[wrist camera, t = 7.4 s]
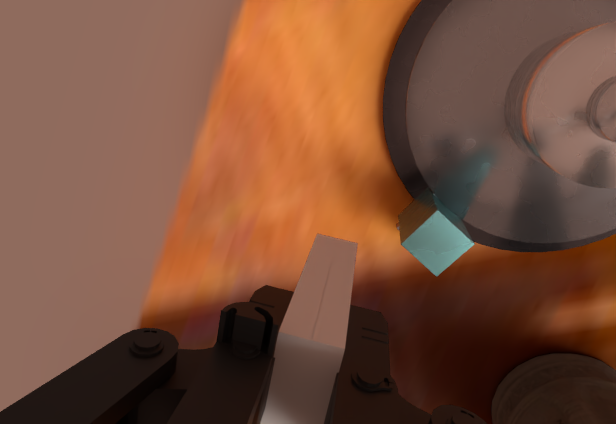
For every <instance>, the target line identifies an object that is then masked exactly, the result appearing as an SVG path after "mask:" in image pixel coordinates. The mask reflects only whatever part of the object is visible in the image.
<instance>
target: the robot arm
mask: <svg viewBox="0 0 616 424" xmlns="http://www.w3.org/2000/svg"><path fill="white" fill-rule="evenodd" d="M357 244H358V243H355V242H350V241H346V240H342V239H338V238H333V237H329V236H325V235H321V234H317V235H316V238H315V241H314V243H313V246H312V248H311V251H310V253H309V256H308V258H307V261H306V263H305V266H304V269H303V271H302V274H301V276H300V279H299V281H298V284H297V286H296V289H295V291H294V292H292V291H288V290H284V289H280V288H276V287H272V286H268V285H265V286H264V287H262V288H260V289H258V290H256V291H255V292H254V294H253V295H252V297H251V299H250V301H249V302H239V303H234V304H231V305H228V306H226V307H225V308H224V309H223V310H221V315H220V322H219V329H218V336H217V342H216V344H215V345H214V347H212V348H208V349H201V350H188V349H178V344H179V343H178V342H177V340H176V338H175V337H174V336H173V335H172V334H170V333H169V332H167V331H163V330H160V329H155V328H143V329H137V330H132V331H130V332H128V333H126V334H123V335H122V336H120V337H118V338H117V339H115V340H114V341H112V342H111V343H109V344H107V345H106V346H104V347H103V348H101V349H100V350H98V351H96V352H95V353H93V354H91V355H90V356H88V357H87V358H85V359H84V360H82V361H80V362H79V363H77V364H76V365H74V366H72V367H71V368H69V369H68V370H66V371H64V372H63V373H61V374H60V375H58V376H57V377H55V378H53V379H52V380H50V381H49V382H47V383H45V384H44V385H42V386H41V387H39V388H37V389H36V390H34V391H33V392H31V393H30V394H28V395H26V396H25V397H24V398H22V399H20V400H18V401H17V402H15V403H14V404H12V405H10V406H9V407H7V408H6V409H4V410H3V411H1V412H0V424H487V423H486V422H485V421H484V420H483V419H481V418H480V417H479V416H477V415H476V414H475V413H473V412H471V411H469V410H467V409H465V408H462V407H458V406H454V405H441V406H439V407H437V408H436V409H434V410H433V413H432V415H430V414H428V413H427V412H425V411H423V410H421V409H419V408H417V407H415V406H413V405H412V404H410V403H408V402H407V401H406V400H405V399H403V398H402V397H401V396H400V395H399V394H398V389H397V386H396V383H395V381H394V379H393V378H392V377H391V376H390V361H389V345H388V343H389V339H388V323H387V321H386V320H385V318H384V317H383V315H382V314H381V312H377V311H373V310H369V309H365V308H361V307H357V306H353V305H350V302H351V294H352V286H353V277H354V269H355V261H356V252H357ZM260 422H261V423H260Z"/></svg>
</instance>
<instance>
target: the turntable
mask: <svg viewBox="0 0 616 424" xmlns="http://www.w3.org/2000/svg"><path fill="white" fill-rule="evenodd" d="M615 21H616V0H452V1H451V2H450V3H449V4H448V6H447V7H446V8H445V9H444V11H443V12H442V13H441V14H440V16H439V17H438V18H437V19H436V21H435V22H434V23H433V25H432V27H431V28H430V30H429V31H428V33H427V35H426V36H425V38H424V40H423V42H422V44H421V46H420V48H419V50H418V52H417V55H416V57H415V60H414V63H413V66H412V69H411V72H410V75H409V80H408V86H407V91H406V102H405V119H406V130H407V135H408V139H409V144H410V147H411V150H412V153H413V156H414V158H415V161H416V164H417V166H418V168H419V170H420V172H421V174H422V176H423V178H424V180H425V182H426V183H427V184H428V186H429V187H430V188H429V187H427V188H426V189H425V190H424V191H423V192H422V193H421V194H420V195H419V196H418V197H417V198H416V199H415V200H414V201H413V202H412V203H411V204H410V205H409V206H408V207H407V208H406V209H405V210H403V211H402V212H401V213H400V214H399V215H398V219H399V222H398V223H397V224H396V226H397V229H398V230H399V231H400V240H401V245H402V246H403V247H404V248H406V249H407V250H408V251H409V252H410V253H411V254H412V255H413V256H414V257H416V258H417V259H418V260H419V261H420V262H421V263H422V264H423V265H424V266H426V267H427V268H428V269H429V270H430V271H431V272H432V273H433V274H434V275H436V276H438V275H439V274H440V273H441V272H443V271H444V270H445V269H446V268H447V267H448V266H450V265H451V264H452V263H453V262H454V261H455V260H457V259H458V258H459V257H460V256H461V255H462V254H463V253H465V252H466V251H467V250H468V249H469V248H470V247H472V246H473V245H474V242H473V240H472V238H471V236H470V235H469V233H468V231H467V229H466V227H465V225H464V223H463V222H462V220H464V221H466V222H467V223H469V224H471V225H472V226H474V227H476V228H478V229H481V230H483V231H485V232H487V233H490V234H492V235H496V236H499V237H502V238H506V239H510V240H515V241H521V242H529V243H559V242H568V241H574V240H580V239H585V238H589V237H592V236H596V235H599V234H602V233H605V232H608V231H610V230H613V229H615V228H616V188H596V187H590V186H586V185H582V184H579V183H577V182H574V181H572V180H570V179H568V178H566V177H565V176H563V175H561V174H559V173H557V172H556V171H554V170H552V169H550V168H548V167H547V166H545V165H543V164H541V163H539V162H538V161H536V160H534V159H532V158H531V157H529V156H528V155H526V154H525V153H524V152H522V151H521V150H520V149H519V148H518V146H517V145H516V144H515V143H514V141H513V140H512V138H511V136H510V134H509V132H508V129H507V126H506V123H505V117H504V102H505V96H506V91H507V88H508V85H509V83H510V80H511V78H512V77H513V75H514V73H515V71H516V70H517V68H518V67H519V65H520V64H521V63H522V62H523V61H524V59H525V58H526V57H527V56H528V55H529V54H530V53H531V52H533V51H534V50H535V49H536V48H538V47H539V46H540V45H542V44H543V43H545V42H547V41H549V40H550V39H552V38H555V37H557V36H559V35H562V34H566V33H569V32H573V31H577V30H581V29H586V28H590V27H594V26H598V25H602V24H607V23H611V22H615ZM461 219H462V220H461Z"/></svg>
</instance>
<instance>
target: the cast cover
mask: <svg viewBox="0 0 616 424" xmlns="http://www.w3.org/2000/svg"><path fill="white" fill-rule="evenodd" d="M504 117H505V123H506V126H507V129H508V132H509V134H510V136H511V138H512V140H513V141H514V143H515V144H516V145H517V146H518V148H519V149H520V150H521V151H522V152H524V153H525V154H526V155H528V156H529V157H531V158H532V159H534V160H536V161H538V162H539V163H541V164H543V165H545V166H547V167H548V168H550V169H552V170H554V171H556V172H557V173H559V174H561V175H563V176H565V177H566V178H568V179H570V180H572V181H574V182H577V183H579V184H582V185H586V186H590V187H596V188H616V21H615V22H611V23H607V24H602V25H598V26H594V27H590V28H586V29H581V30H577V31H573V32H569V33H566V34H562V35H559V36H557V37H555V38H552V39H550V40H549V41H547V42H545V43H543V44H542V45H540V46H539V47H538V48H536V49H535V50H534V51H533V52H531V53H530V54H529V55H528V56H527V57H526V58H525V59H524V61H523V62H522V63H521V64H520V65H519V67H518V68H517V70H516V71H515V73H514V75H513V77H512V78H511V80H510V83H509V85H508V88H507V91H506V96H505V102H504Z"/></svg>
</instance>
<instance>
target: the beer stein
mask: <svg viewBox="0 0 616 424" xmlns="http://www.w3.org/2000/svg"><path fill="white" fill-rule="evenodd" d="M491 411H492V423H493V424H616V371H615V370H614V369H613V368H611V367H610V366H608V365H607V364H605V363H604V362H602V361H600V360H597V359H594V358H591V357H588V356H583V355H578V354H558V353H553V354H548V355H543V356H538V357H535V358H532V359H530V360H528V361H526V362H524V363H523V364H521V365H519V366H517V367H516V368H515V369H513V370H512V371H511V372H510V373H508V375H507V376H506V377H505V378H504V380H503V381H502V382H501V383H500V384H499V386H498V388H497V390H496V393H495V395H494V398H493V400H492V408H491Z"/></svg>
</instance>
